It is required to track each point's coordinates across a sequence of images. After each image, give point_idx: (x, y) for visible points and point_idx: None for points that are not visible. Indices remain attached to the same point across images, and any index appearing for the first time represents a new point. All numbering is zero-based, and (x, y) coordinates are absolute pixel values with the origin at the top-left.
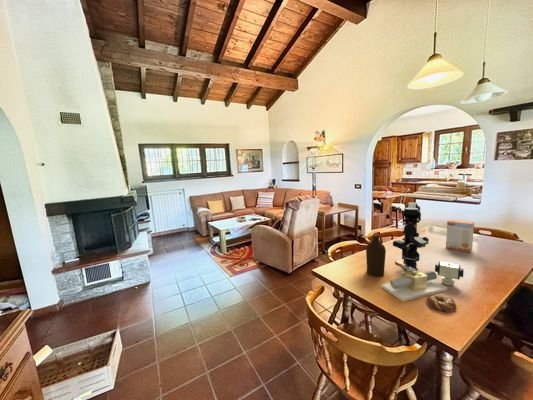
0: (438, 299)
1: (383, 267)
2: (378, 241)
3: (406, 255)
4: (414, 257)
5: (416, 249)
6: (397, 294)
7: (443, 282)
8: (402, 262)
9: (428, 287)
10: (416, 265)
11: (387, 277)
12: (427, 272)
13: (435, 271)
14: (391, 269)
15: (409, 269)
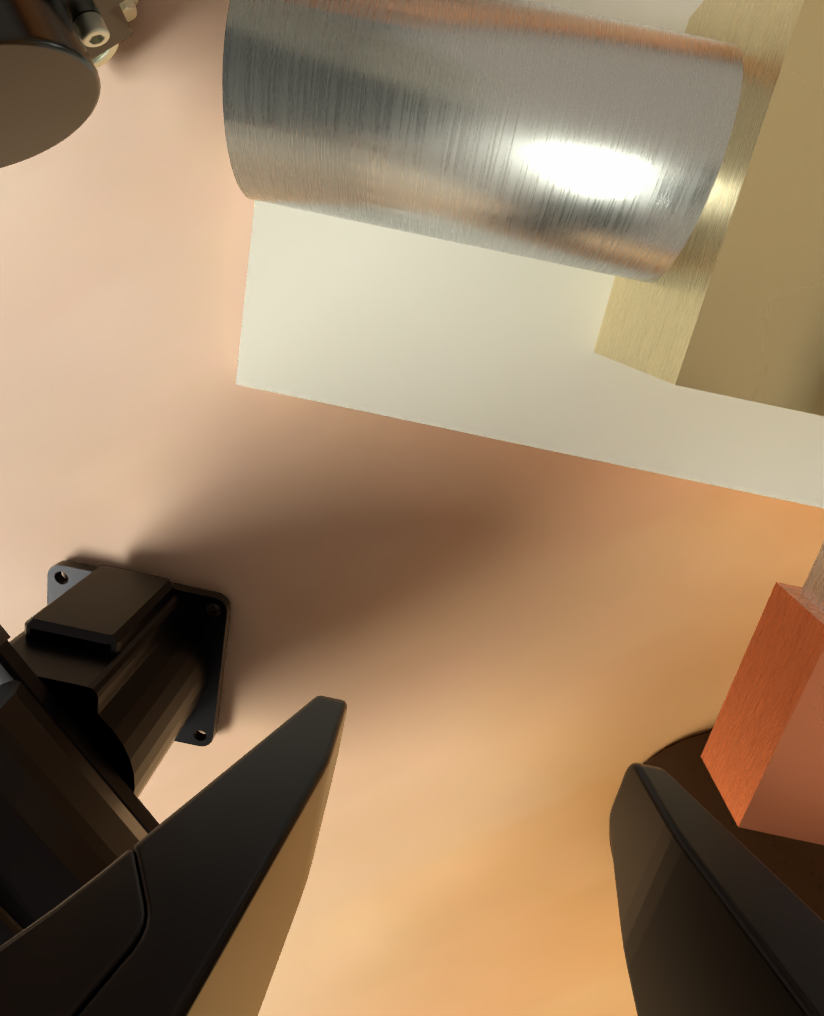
0: None
1: (813, 853)
2: None
3: (738, 871)
4: (29, 717)
5: (35, 977)
6: None
7: (124, 7)
8: (808, 708)
9: (628, 12)
10: (60, 599)
11: (706, 674)
12: (423, 101)
13: (91, 89)
14: (406, 772)
15: None
